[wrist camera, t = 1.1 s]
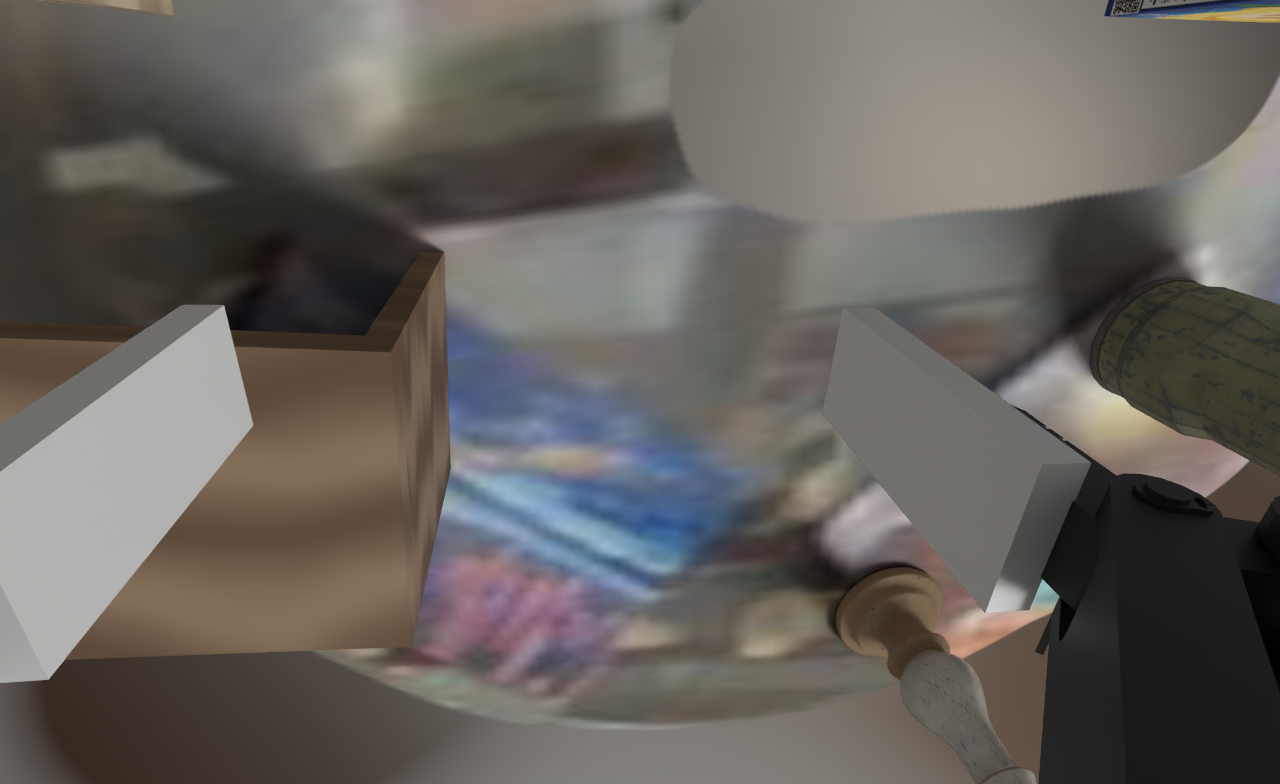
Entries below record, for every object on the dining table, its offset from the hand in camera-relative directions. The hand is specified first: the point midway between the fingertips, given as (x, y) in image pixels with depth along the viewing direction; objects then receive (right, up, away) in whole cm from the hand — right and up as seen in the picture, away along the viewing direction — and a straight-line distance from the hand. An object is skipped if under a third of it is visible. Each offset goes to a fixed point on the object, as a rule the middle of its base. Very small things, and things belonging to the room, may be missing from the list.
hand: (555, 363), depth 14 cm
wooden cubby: (-18, +1, +23) cm, 29 cm away
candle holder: (+22, -18, +39) cm, 48 cm away
